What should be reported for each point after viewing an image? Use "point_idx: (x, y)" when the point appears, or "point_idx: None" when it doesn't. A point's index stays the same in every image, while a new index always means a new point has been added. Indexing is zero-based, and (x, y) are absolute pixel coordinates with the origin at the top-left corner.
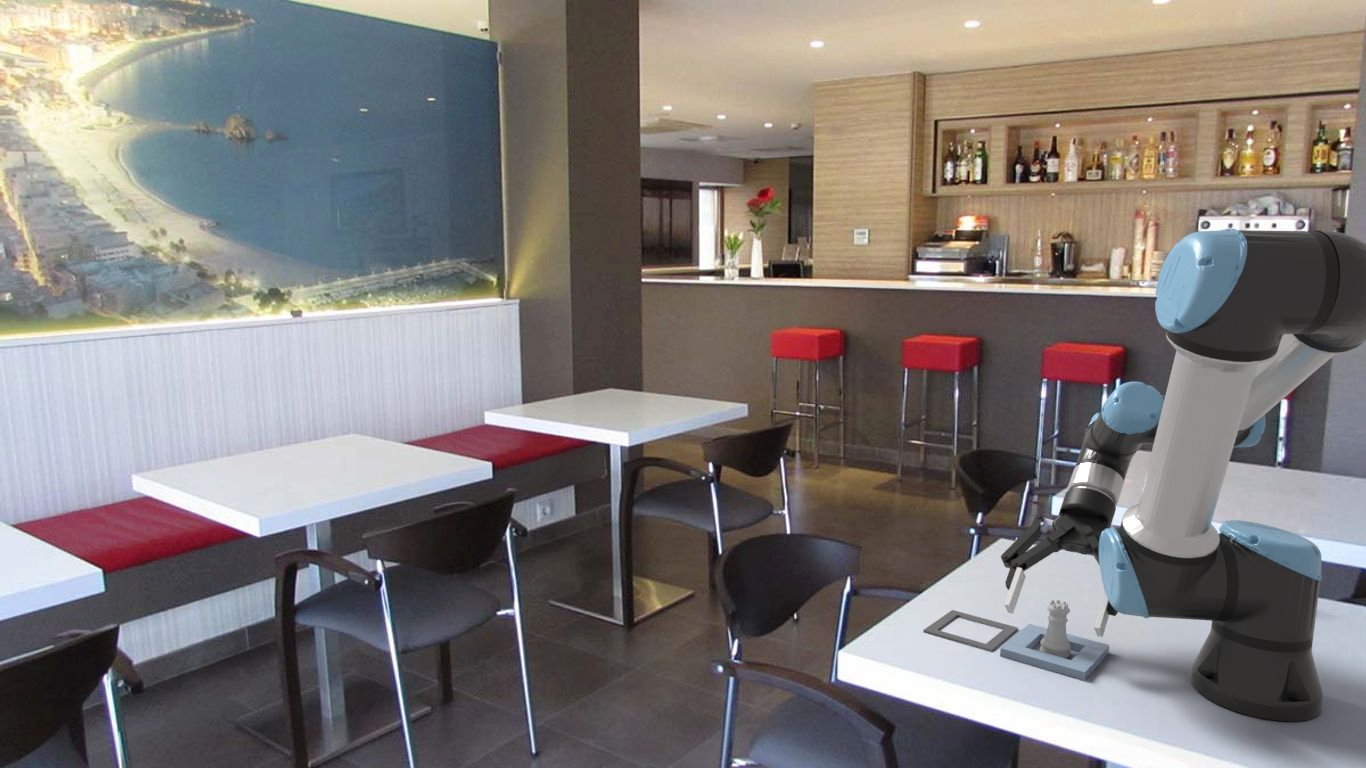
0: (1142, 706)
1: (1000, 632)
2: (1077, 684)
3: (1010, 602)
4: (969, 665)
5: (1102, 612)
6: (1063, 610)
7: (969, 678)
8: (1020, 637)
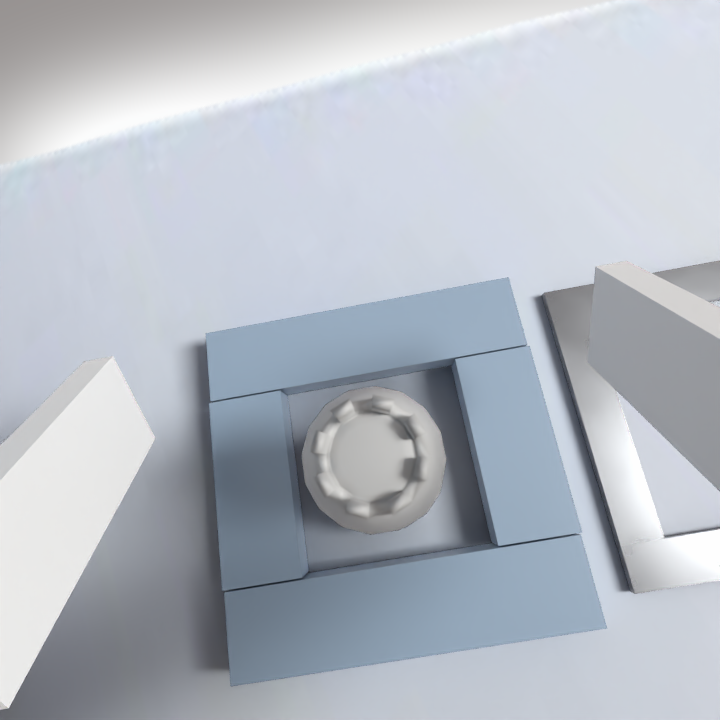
0: (34, 319)
1: (639, 470)
2: (222, 301)
3: (608, 282)
4: (515, 158)
5: (34, 417)
6: (321, 422)
7: (458, 95)
8: (525, 431)
